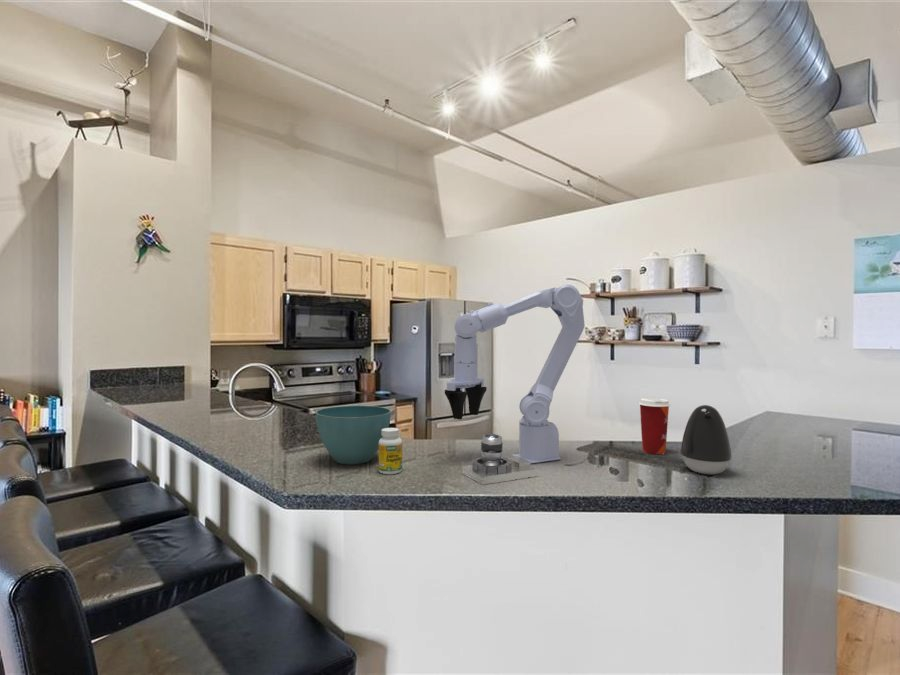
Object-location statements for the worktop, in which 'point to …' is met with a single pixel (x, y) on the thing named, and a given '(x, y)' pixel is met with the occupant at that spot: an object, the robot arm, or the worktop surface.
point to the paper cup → (654, 424)
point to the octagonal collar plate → (500, 470)
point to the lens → (491, 449)
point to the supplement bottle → (390, 451)
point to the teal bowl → (352, 431)
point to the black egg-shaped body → (706, 442)
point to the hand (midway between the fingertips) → (466, 416)
